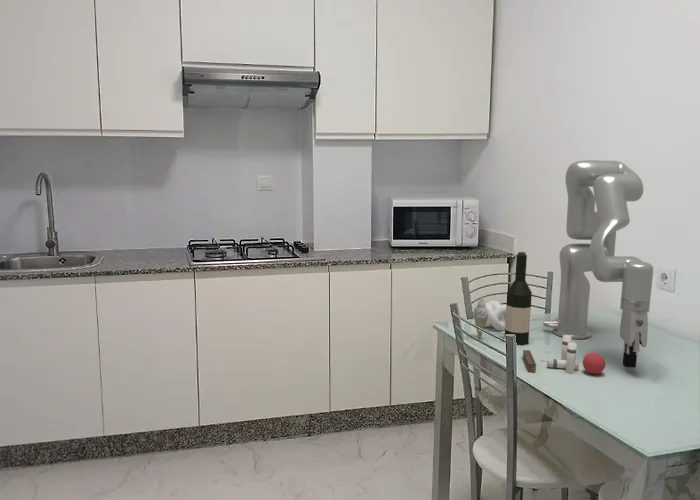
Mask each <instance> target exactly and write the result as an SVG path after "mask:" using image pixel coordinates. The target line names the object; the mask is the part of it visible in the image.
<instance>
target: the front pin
mask: <svg viewBox="0 0 700 500" xmlns="http://www.w3.org/2000/svg"><path fill="white" fill-rule="evenodd" d="M579 366H580V363H579V361H578V360H575V371H578V370H579ZM546 367H547V368H552V369H565V370H566V360H561V359H557V358H556V359H555V358H547V359H546Z"/></svg>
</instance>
